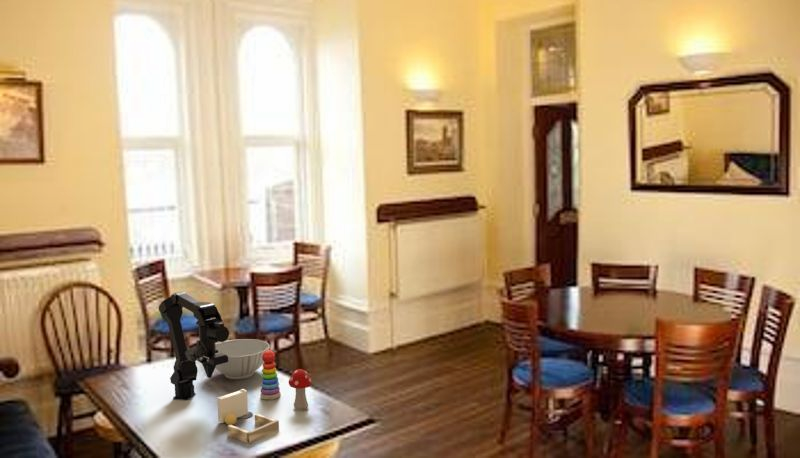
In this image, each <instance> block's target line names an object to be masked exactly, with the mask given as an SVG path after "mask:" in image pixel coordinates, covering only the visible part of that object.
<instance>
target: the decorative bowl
mask: <svg viewBox="0 0 800 458" xmlns="http://www.w3.org/2000/svg"><path fill="white" fill-rule="evenodd" d="M270 347H271V346H270V343H268V342H267V341H264V340H261V339H255V338H254V339H252V338H242V339H241V338H238V339H231V340H226V341H224V342H216V349H217V350H218V353H215V354H219V353H222V354H225V355H227V356H228V359H229V361H228V362H226V363H223V364H219V365H216V367H215V370H216V371H218V372H219V373H221V374H223V375H224V376H225V378H227V379H230V380H241V379H247V378H250V377H252V376H254V373H255V372H256V371H257V370H259V369H260V368H261V367H263V363H265V362H264V361H263V359H262V355H263V353H264V352H265V351H268V350H270Z"/></svg>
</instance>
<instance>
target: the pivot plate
mask: <svg viewBox="0 0 800 458" xmlns="http://www.w3.org/2000/svg"><path fill="white" fill-rule="evenodd" d="M252 416H253V412H251V411H248V414H246V415H243V416H241V417H238V418H237V419H238V420H244V419H249V418H252Z"/></svg>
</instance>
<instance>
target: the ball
mask: <svg viewBox="0 0 800 458" xmlns="http://www.w3.org/2000/svg"><path fill="white" fill-rule="evenodd" d="M237 419H238V418H236V416H235V415H234V414H228V415H227V416H226V418H225V422H224V423H226V425H227V426H228V425H233V426H234V425H235V424H236V423H237Z"/></svg>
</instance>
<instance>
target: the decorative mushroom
mask: <svg viewBox="0 0 800 458" xmlns="http://www.w3.org/2000/svg"><path fill="white" fill-rule="evenodd" d="M312 383H313V382H312V378H311V377H310V376H309V374H308V372H307V371H306V370H305V369H302V368H298V369H296V370H294V371H293V372H292V374H291V376H290V377H289V379H288V385H289V387H291V388H294V389H295V395H294V396H295V398H294V402H293V407H294V409H295V410H296V411H299V412H304V411H306V410H307V409H308V407H309V403H308V401H307V400H308V399H307V394H306V388H309V387H311V385H312Z"/></svg>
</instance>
